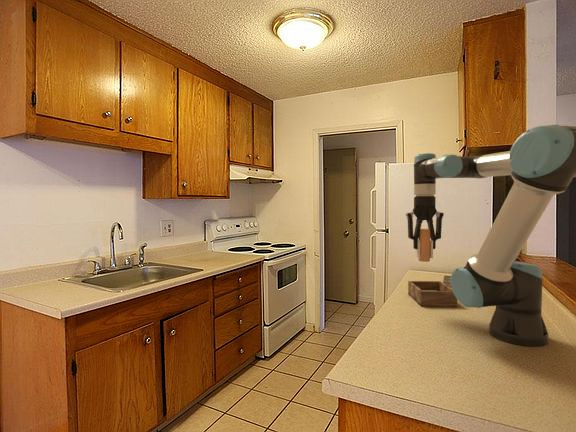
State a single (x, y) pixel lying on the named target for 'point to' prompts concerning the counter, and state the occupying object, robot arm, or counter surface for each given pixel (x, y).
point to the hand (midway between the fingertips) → (424, 257)
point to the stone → (447, 280)
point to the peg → (424, 245)
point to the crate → (432, 294)
